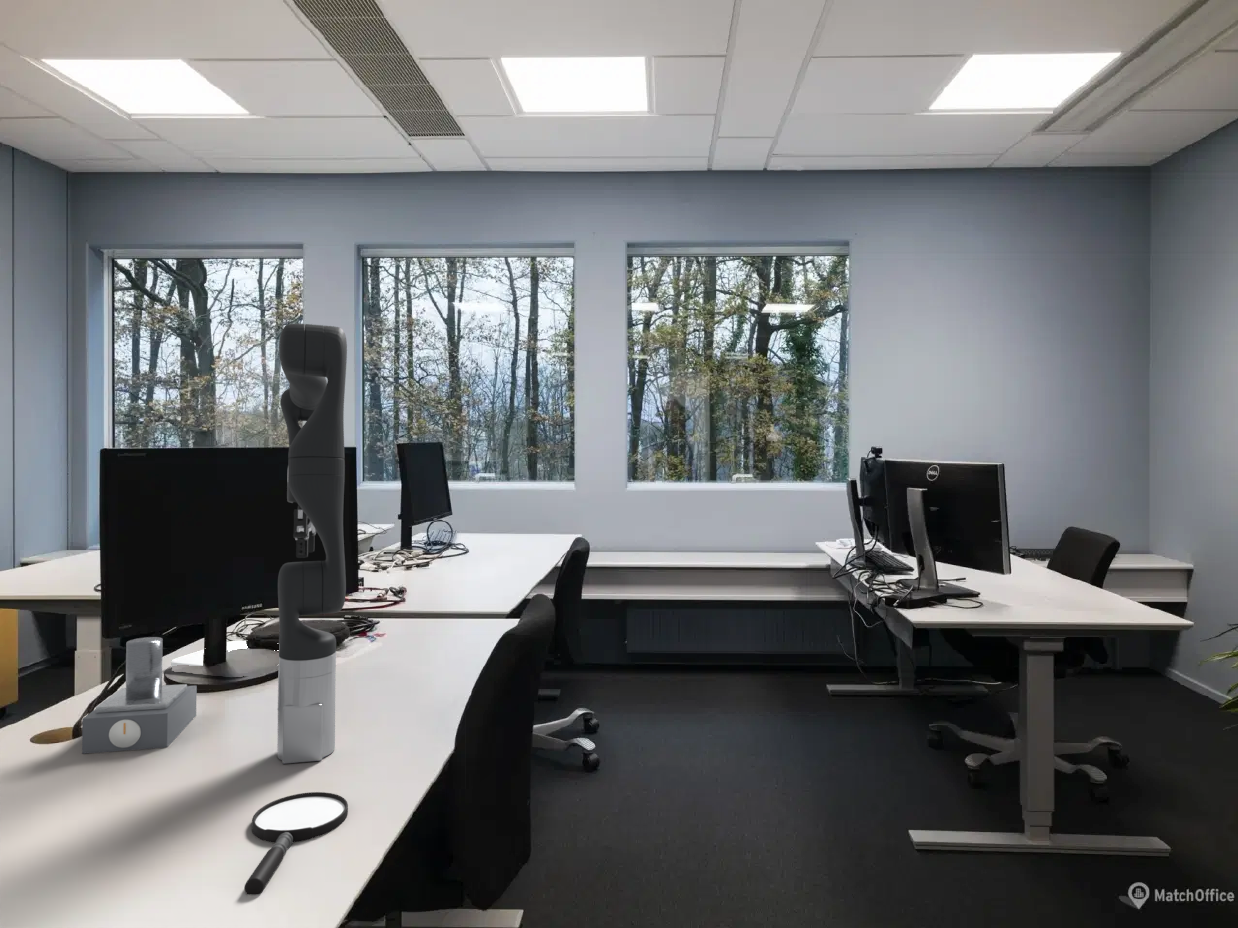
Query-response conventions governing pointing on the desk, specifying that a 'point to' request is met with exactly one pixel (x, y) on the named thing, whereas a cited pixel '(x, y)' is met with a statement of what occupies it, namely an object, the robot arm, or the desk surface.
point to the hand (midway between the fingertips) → (305, 554)
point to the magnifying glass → (292, 828)
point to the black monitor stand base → (197, 657)
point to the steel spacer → (144, 668)
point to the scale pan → (159, 702)
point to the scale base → (138, 726)
